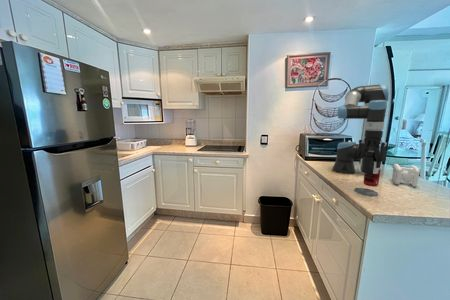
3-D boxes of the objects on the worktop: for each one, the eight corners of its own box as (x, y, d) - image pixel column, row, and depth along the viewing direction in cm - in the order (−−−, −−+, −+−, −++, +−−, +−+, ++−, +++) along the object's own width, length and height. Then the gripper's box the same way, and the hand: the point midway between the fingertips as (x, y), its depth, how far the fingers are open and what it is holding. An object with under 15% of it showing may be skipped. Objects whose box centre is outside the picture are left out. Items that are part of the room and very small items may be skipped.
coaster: (349, 189, 111) (349, 188, 111) (363, 187, 114) (363, 186, 114) (367, 197, 100) (368, 196, 100) (383, 194, 103) (383, 193, 103)
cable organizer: (417, 189, 112) (420, 170, 110) (393, 185, 118) (396, 167, 116) (411, 182, 124) (414, 164, 122) (390, 179, 130) (393, 162, 128)
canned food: (376, 183, 122) (378, 166, 120) (380, 187, 115) (382, 169, 113) (361, 181, 125) (364, 165, 123) (364, 185, 118) (367, 168, 116)
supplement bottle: (357, 170, 108) (360, 150, 106) (368, 170, 109) (371, 150, 107) (367, 174, 101) (370, 152, 99) (379, 174, 102) (382, 152, 100)
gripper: (351, 129, 109) (347, 167, 113) (389, 131, 91) (382, 177, 95) (361, 128, 111) (356, 166, 115) (400, 131, 93) (393, 176, 97)
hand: (368, 171), depth 105 cm, fingers closed on supplement bottle, 7 cm apart
